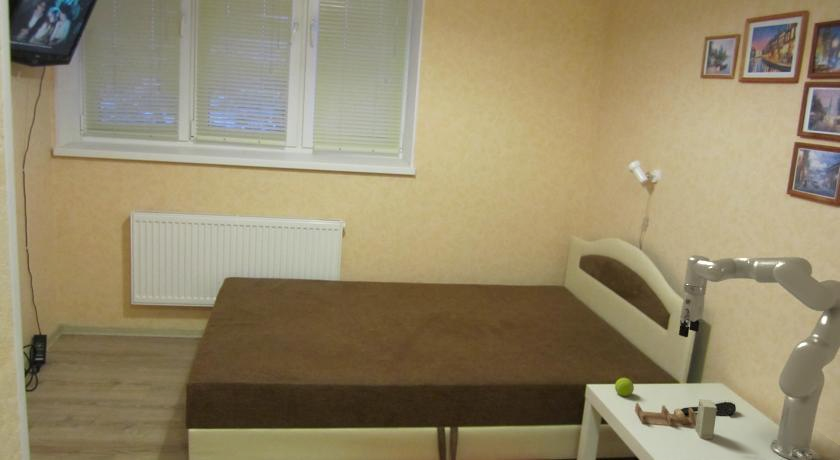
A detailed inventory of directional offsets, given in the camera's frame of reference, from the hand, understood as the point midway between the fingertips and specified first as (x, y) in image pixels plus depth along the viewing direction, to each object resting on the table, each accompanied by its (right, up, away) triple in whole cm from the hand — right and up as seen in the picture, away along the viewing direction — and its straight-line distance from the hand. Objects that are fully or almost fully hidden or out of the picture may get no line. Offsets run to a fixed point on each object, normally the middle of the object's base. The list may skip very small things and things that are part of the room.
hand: (688, 333), depth 244 cm
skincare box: (-2, -33, -17) cm, 37 cm away
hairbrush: (+6, -30, +1) cm, 31 cm away
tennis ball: (-21, -26, +12) cm, 36 cm away
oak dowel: (-6, -30, -8) cm, 32 cm away
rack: (-11, -31, -7) cm, 33 cm away
